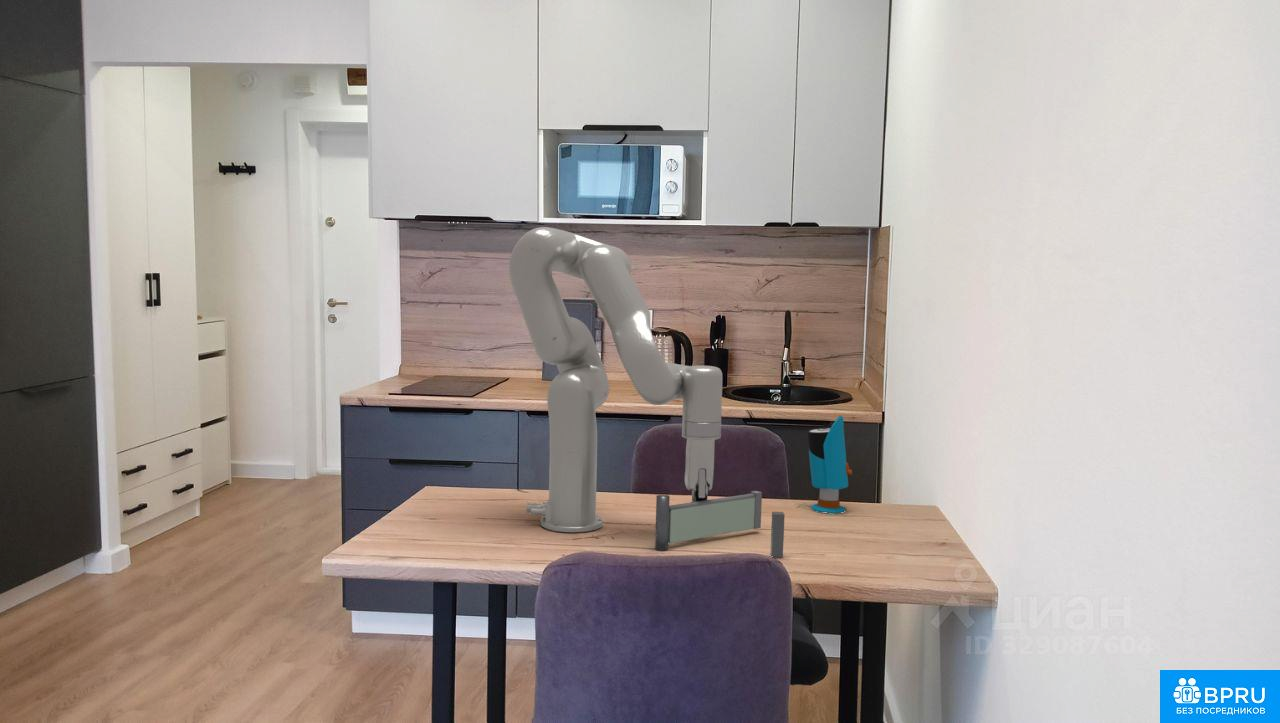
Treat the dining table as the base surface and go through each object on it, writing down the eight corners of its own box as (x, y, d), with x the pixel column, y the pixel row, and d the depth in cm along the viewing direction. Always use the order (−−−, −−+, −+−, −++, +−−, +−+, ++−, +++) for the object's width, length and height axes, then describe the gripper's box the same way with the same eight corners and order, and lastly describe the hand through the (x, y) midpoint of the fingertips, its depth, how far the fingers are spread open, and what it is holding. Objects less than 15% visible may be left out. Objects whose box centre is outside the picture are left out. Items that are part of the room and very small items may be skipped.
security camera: (808, 411, 209) (854, 413, 207) (804, 503, 211) (849, 507, 209) (807, 416, 201) (855, 418, 199) (803, 512, 202) (850, 516, 200)
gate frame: (654, 550, 170) (655, 497, 169) (655, 546, 173) (657, 494, 172) (782, 558, 167) (785, 504, 167) (782, 554, 170) (784, 501, 169)
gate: (670, 543, 171) (671, 505, 171) (665, 541, 173) (666, 503, 172) (760, 527, 184) (762, 492, 184) (755, 526, 186) (756, 490, 185)
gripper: (680, 423, 186) (677, 513, 188) (684, 435, 171) (681, 532, 173) (717, 424, 186) (714, 513, 188) (724, 436, 172) (721, 533, 173)
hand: (698, 522), depth 180 cm, fingers closed
